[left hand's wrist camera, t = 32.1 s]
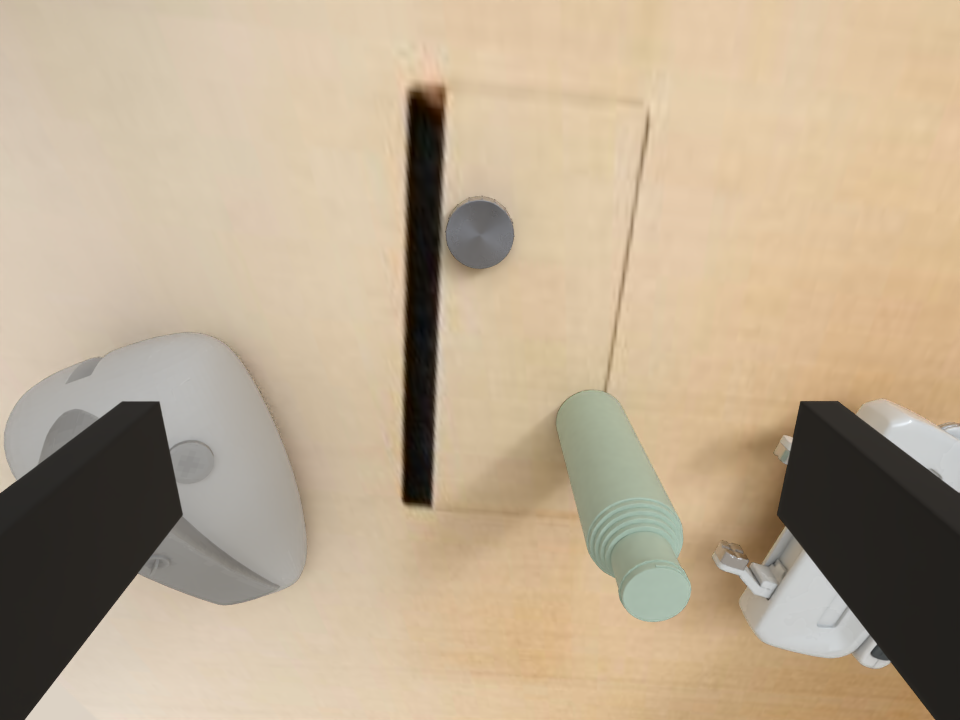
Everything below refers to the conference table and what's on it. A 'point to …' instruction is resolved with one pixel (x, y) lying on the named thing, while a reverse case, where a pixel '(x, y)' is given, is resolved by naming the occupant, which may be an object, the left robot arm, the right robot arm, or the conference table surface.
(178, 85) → the conference table surface
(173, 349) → the projector
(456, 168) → the conference table surface
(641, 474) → the bottle
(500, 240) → the cap
